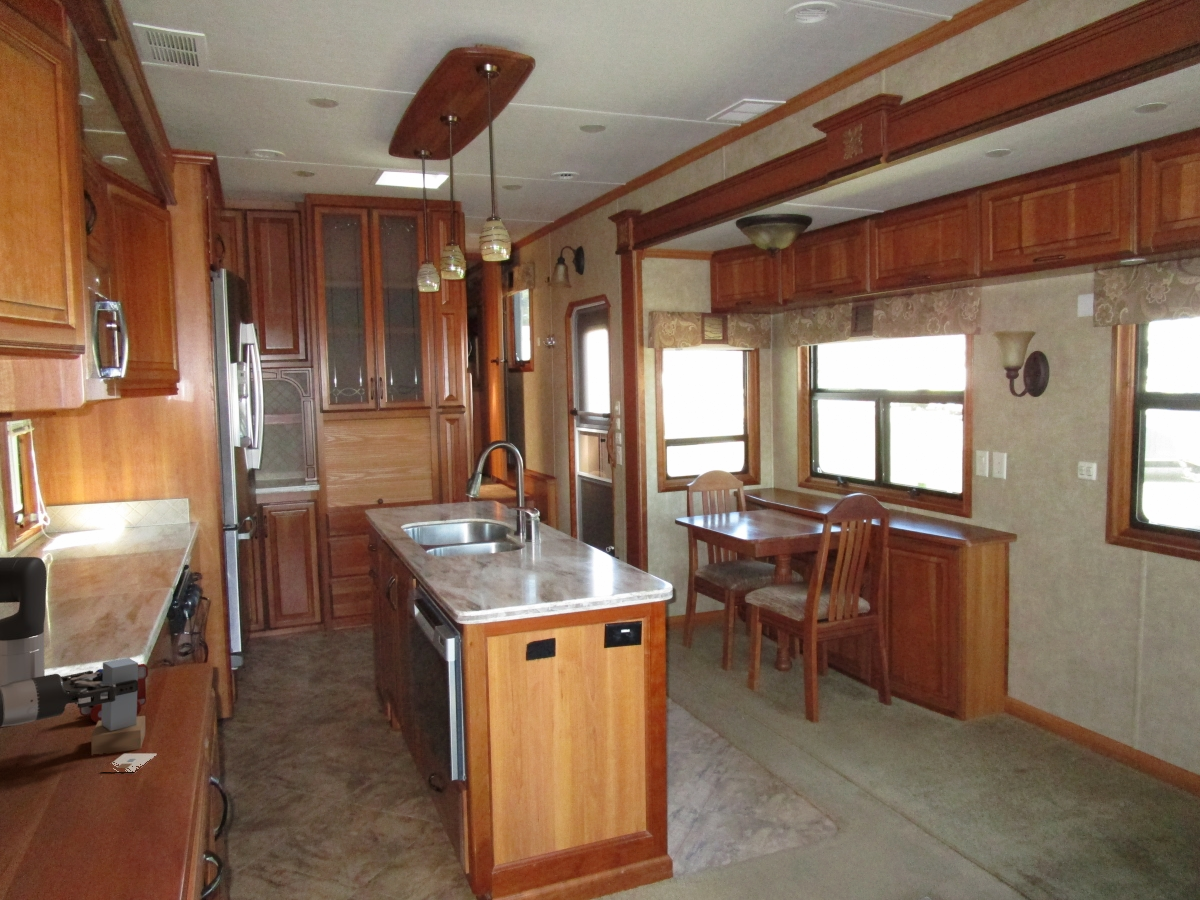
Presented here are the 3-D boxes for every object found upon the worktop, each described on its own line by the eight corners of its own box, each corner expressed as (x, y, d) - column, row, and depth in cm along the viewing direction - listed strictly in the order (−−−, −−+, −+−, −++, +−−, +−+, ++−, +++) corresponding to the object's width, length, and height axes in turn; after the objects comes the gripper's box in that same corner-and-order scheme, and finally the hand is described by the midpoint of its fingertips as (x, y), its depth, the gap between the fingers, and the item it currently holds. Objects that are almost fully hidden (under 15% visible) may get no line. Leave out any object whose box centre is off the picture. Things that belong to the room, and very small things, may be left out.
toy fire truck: (79, 716, 173) (78, 666, 173) (147, 705, 180) (146, 658, 179) (79, 727, 167) (78, 676, 167) (149, 715, 174) (149, 666, 174)
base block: (91, 757, 154) (91, 735, 153) (98, 741, 161) (98, 720, 161) (140, 750, 157) (140, 730, 157) (145, 735, 164) (145, 715, 164)
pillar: (110, 731, 156) (112, 667, 155) (101, 724, 158) (102, 662, 158) (136, 724, 159) (138, 663, 159) (126, 718, 162) (128, 657, 161)
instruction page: (99, 773, 146) (99, 771, 146) (124, 754, 154) (124, 752, 154) (134, 773, 146) (134, 771, 146) (157, 754, 154) (156, 753, 154)
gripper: (40, 688, 143) (142, 668, 155) (19, 670, 153) (117, 652, 165) (41, 731, 143) (143, 708, 155) (20, 710, 153) (117, 690, 165)
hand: (129, 679), depth 160 cm, fingers open, 8 cm apart
